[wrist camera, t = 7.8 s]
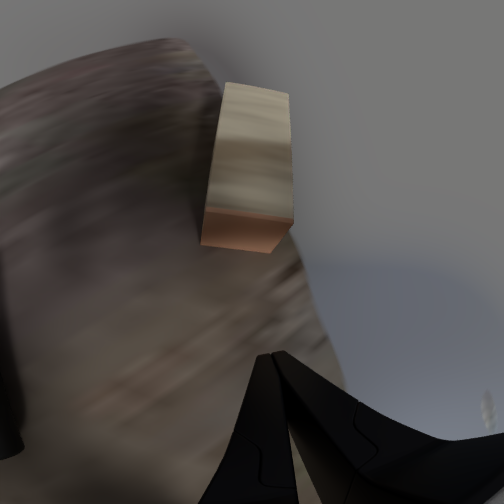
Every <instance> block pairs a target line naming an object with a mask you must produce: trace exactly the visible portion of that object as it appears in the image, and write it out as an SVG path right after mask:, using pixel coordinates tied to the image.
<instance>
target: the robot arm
mask: <svg viewBox="0 0 504 504" xmlns="http://www.w3.org/2000/svg"><path fill="white" fill-rule="evenodd" d="M288 429H289V431H290V433H291V436H292V438H293V440H294V443H295V445H296V447H297V449H298V452H299V454H300V456H301V458H302V461H303V463H304V465H305V467H306V470H307V472H308V474H309V476H310V478H311V481H312V483H313V485H314V487H315V489H316V491H317V494H318V496H319V498H320V500H321V502H322V504H504V433H499V434H494V435H489V436H484V437H478V438H471V439H465V440H457V441H449V440H442V439H438V438H435V437H432V436H430V435H427V434H425V433H422V432H420V431H417V430H415V429H413V428H410V427H408V426H406V425H403V424H401V423H399V422H397V421H394V420H392V419H390V418H388V417H386V416H384V415H382V414H380V413H379V412H377V411H375V410H373V409H371V408H370V407H368V406H367V405H365V404H364V403H362V402H359V401H358V400H357V399H356V398H354V397H352V396H351V395H349V394H348V393H346V392H345V391H343V390H342V389H340V388H339V387H337V386H336V385H334V384H333V383H331V382H329V381H328V380H326V379H325V378H324V377H322V376H321V375H319V374H318V373H316V372H315V371H313V370H312V369H310V368H309V367H307V366H306V365H304V364H303V363H301V362H300V361H299V360H297V359H296V358H294V357H293V356H291V355H290V354H289V353H287V352H286V351H277V352H273V353H271V354H269V353H267V354H262V355H258V356H257V357H256V360H255V364H254V367H253V370H252V373H251V377H250V380H249V383H248V386H247V390H246V393H245V396H244V399H243V402H242V405H241V408H240V412H239V415H238V418H237V421H236V424H235V427H234V432H233V433H232V436H231V439H230V442H229V444H228V447H227V449H226V452H225V454H224V457H223V459H222V461H221V463H220V465H219V467H218V469H217V471H216V473H215V474H214V476H213V478H212V480H211V481H210V483H209V485H208V487H207V489H206V490H205V492H204V494H203V495H202V497H201V499H200V501H199V502H198V504H299V500H298V494H297V487H296V480H295V472H294V465H293V458H292V451H291V444H290V437H289V431H288Z"/></svg>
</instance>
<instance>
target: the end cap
mask: <svg viewBox="0 0 504 504" xmlns="http://www.w3.org/2000/svg"><path fill="white" fill-rule="evenodd" d="M24 447H25V446H24V443H23V441H22V438H21V436H20V433H19V430H18V428H17V425H16V422H15V420H14V417H13V414H12V411H11V408H10V405H9V402H8V398H7V395H6V392H5V388H4V385H3V381H2V377H1V373H0V460H3V459H6V458H9V457H12V456H15V455H17V454H19V453H20V452H22V451H23V450H24Z"/></svg>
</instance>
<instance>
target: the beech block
mask: <svg viewBox="0 0 504 504" xmlns="http://www.w3.org/2000/svg"><path fill="white" fill-rule="evenodd" d="M293 224H294V215H293V177H292V152H291V130H290V112H289V96H288V94H287V93H283V92H278V91H274V90H269V89H264V88H259V87H254V86H249V85H243V84H237V83H231V82H226V85H225V89H224V94H223V99H222V104H221V109H220V114H219V119H218V124H217V130H216V136H215V142H214V148H213V155H212V161H211V168H210V174H209V181H208V188H207V195H206V203H205V210H204V218H203V226H202V234H201V243H200V245H205V246H213V247H222V248H230V249H238V250H247V251H255V252H263V253H271V252H272V250H273V249H274V248H275V247H276V245H277V244H278V243H279V242H280V240H281V239H282V238H283V237H284V235H285V234H286V233H287V231H288V230H289V229H290V228H291V226H292V225H293Z"/></svg>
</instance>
